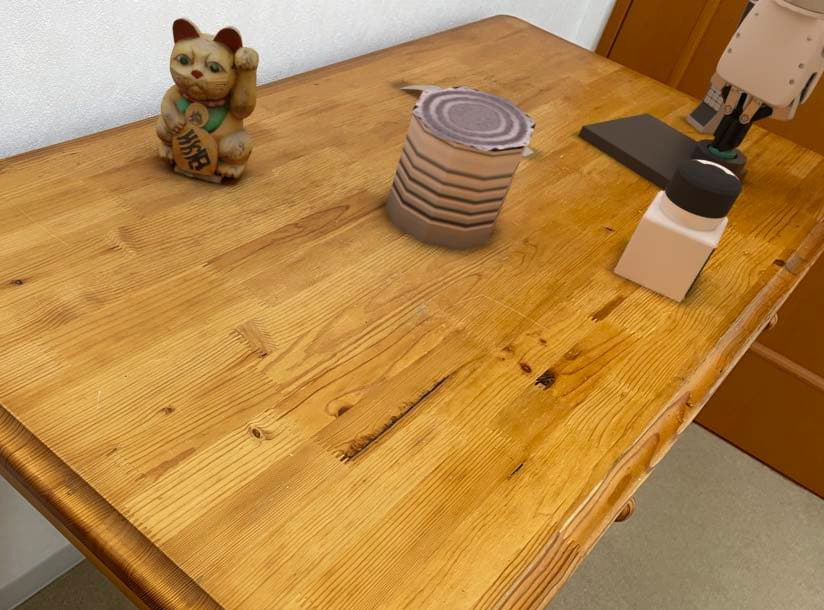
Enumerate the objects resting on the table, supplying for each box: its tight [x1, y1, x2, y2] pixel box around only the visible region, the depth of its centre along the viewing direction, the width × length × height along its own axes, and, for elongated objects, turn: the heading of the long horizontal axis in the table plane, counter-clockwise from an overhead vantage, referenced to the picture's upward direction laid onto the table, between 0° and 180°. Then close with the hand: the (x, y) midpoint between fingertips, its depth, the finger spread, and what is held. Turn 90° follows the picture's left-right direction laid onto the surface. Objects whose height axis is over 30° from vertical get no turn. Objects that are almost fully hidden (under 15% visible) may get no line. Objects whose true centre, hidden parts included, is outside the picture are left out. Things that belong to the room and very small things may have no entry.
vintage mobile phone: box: [685, 0, 759, 135], centre depth 110 cm, size 4×5×25 cm
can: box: [385, 85, 537, 251], centre depth 83 cm, size 11×11×12 cm
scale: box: [577, 112, 749, 191], centre depth 107 cm, size 16×14×4 cm
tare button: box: [708, 146, 737, 159], centre depth 105 cm, size 3×3×2 cm
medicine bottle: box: [613, 160, 743, 303], centre depth 83 cm, size 7×7×12 cm
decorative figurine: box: [155, 16, 260, 184], centre depth 82 cm, size 10×8×15 cm
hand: (722, 147), depth 105 cm, fingers closed
